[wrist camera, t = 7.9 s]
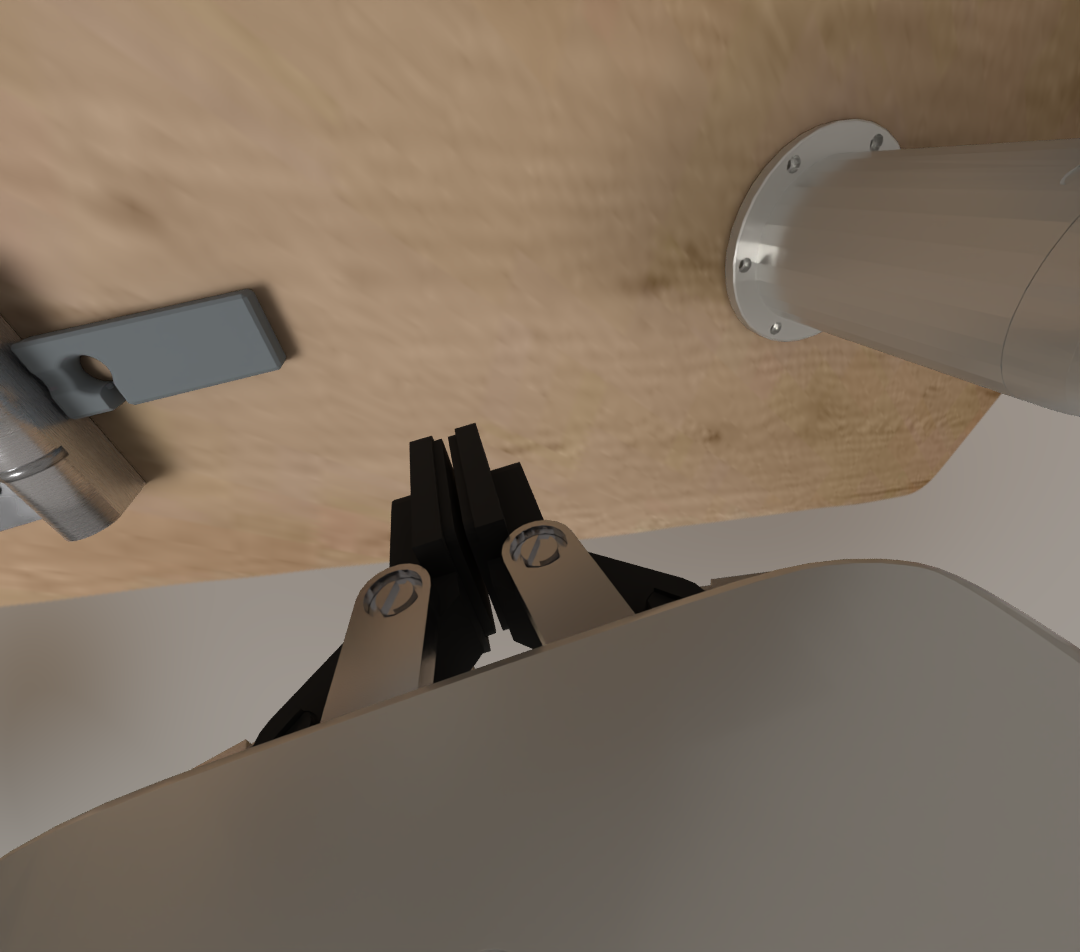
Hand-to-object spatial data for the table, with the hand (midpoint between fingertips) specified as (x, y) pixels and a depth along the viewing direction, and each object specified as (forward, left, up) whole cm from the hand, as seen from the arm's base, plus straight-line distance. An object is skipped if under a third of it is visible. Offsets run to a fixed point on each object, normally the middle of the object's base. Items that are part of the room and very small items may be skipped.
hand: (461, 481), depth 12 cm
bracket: (+13, -2, -18) cm, 22 cm away
